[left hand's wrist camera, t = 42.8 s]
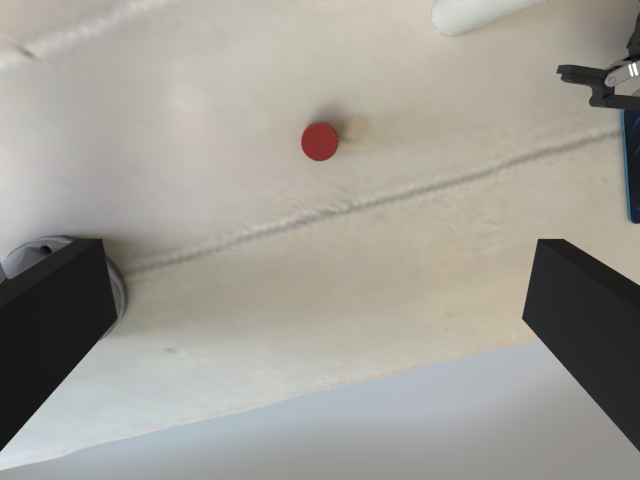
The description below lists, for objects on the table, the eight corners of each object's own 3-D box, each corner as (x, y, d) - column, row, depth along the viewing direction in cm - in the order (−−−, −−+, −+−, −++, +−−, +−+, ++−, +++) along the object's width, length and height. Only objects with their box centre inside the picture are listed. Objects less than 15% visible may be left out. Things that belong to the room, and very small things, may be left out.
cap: (340, 154, 47) (341, 157, 45) (306, 161, 48) (305, 165, 45) (333, 118, 46) (334, 119, 44) (298, 126, 46) (297, 128, 44)
